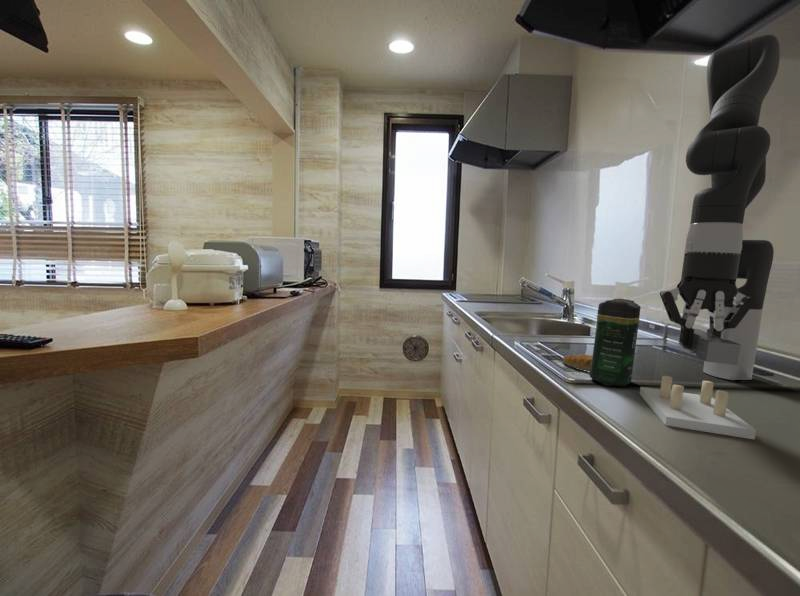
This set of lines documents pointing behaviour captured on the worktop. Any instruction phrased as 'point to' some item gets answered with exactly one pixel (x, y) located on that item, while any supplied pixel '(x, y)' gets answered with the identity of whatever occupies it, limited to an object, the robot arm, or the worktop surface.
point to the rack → (695, 409)
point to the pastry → (579, 361)
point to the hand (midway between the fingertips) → (697, 349)
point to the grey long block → (714, 348)
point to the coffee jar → (615, 342)
